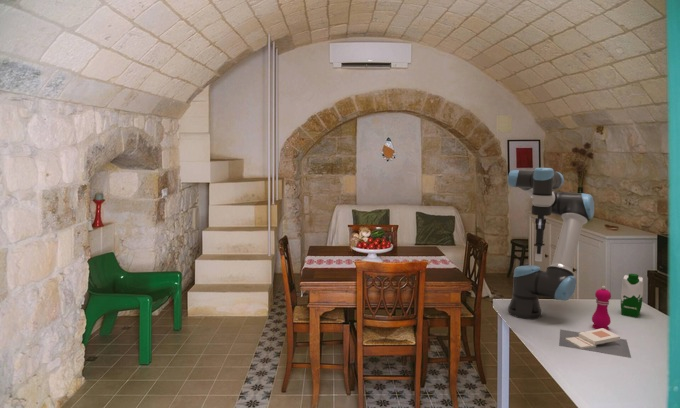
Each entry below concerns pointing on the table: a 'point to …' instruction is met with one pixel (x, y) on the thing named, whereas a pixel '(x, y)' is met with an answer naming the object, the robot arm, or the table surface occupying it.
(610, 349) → the slate board
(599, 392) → the table surface
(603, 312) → the pepper mill
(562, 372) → the table surface
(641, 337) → the table surface
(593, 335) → the cream flat block
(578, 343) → the base
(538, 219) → the robot arm
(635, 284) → the milk carton
